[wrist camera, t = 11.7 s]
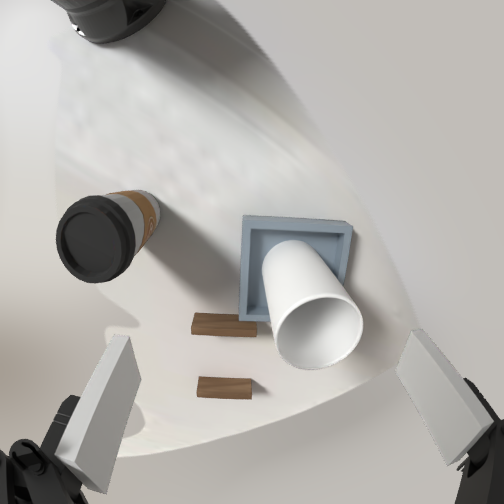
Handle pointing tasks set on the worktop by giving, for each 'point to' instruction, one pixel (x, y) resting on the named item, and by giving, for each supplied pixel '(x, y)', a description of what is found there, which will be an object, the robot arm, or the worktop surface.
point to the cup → (308, 308)
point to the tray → (274, 232)
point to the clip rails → (223, 327)
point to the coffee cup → (105, 233)
